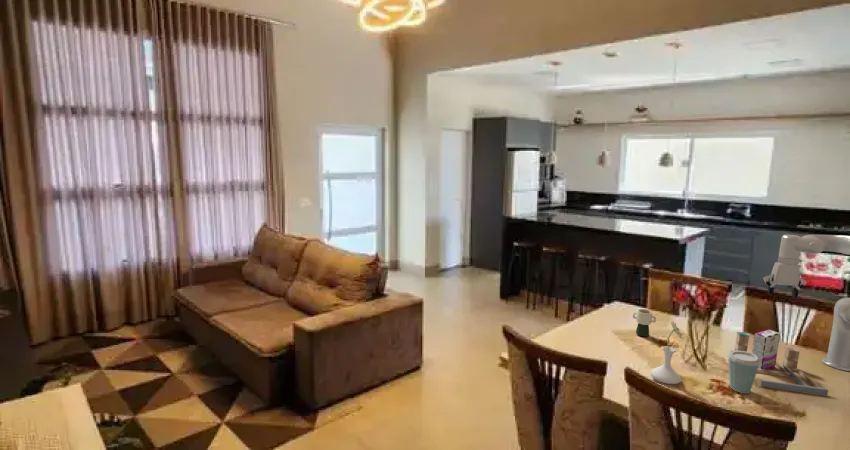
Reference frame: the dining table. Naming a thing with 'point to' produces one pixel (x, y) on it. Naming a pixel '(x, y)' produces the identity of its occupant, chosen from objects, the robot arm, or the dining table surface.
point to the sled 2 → (795, 364)
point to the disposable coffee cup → (742, 370)
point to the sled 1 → (742, 346)
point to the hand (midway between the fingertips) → (782, 296)
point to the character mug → (643, 321)
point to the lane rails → (794, 385)
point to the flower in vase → (667, 363)
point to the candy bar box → (766, 348)
